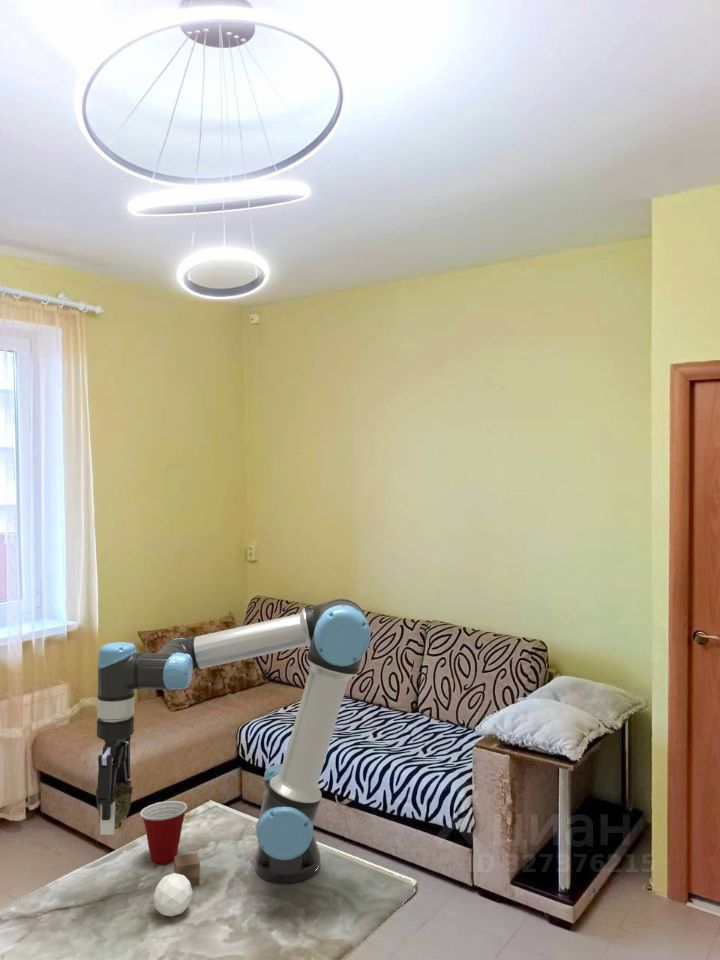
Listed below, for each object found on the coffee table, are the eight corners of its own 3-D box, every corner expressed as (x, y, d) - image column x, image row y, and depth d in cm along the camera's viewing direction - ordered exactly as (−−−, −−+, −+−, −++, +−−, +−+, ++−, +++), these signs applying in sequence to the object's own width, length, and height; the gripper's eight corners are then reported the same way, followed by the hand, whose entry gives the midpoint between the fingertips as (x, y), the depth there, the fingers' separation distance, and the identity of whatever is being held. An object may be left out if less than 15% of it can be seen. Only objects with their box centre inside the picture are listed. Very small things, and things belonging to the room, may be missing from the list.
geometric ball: (178, 920, 150) (200, 882, 153) (176, 928, 143) (198, 887, 146) (148, 901, 150) (170, 863, 154) (143, 908, 143) (167, 868, 146)
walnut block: (196, 874, 163) (196, 852, 163) (199, 886, 159) (199, 863, 159) (173, 878, 162) (174, 856, 162) (176, 889, 157) (176, 866, 157)
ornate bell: (120, 836, 148) (120, 797, 148) (87, 832, 149) (88, 794, 150) (138, 820, 155) (139, 783, 155) (107, 817, 157) (108, 780, 157)
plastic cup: (166, 843, 178) (167, 794, 178) (195, 856, 171) (196, 805, 171) (129, 860, 169) (130, 809, 169) (159, 875, 162) (160, 822, 163)
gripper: (113, 703, 163) (111, 805, 162) (80, 731, 143) (77, 848, 142) (146, 703, 163) (144, 805, 162) (117, 732, 143) (115, 848, 142)
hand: (113, 825), depth 152 cm, fingers closed on ornate bell, 7 cm apart
